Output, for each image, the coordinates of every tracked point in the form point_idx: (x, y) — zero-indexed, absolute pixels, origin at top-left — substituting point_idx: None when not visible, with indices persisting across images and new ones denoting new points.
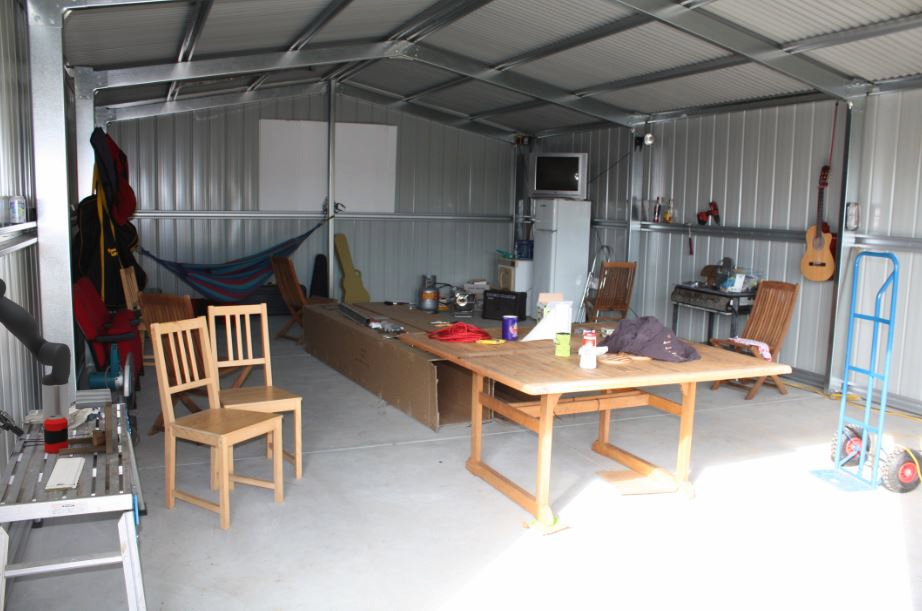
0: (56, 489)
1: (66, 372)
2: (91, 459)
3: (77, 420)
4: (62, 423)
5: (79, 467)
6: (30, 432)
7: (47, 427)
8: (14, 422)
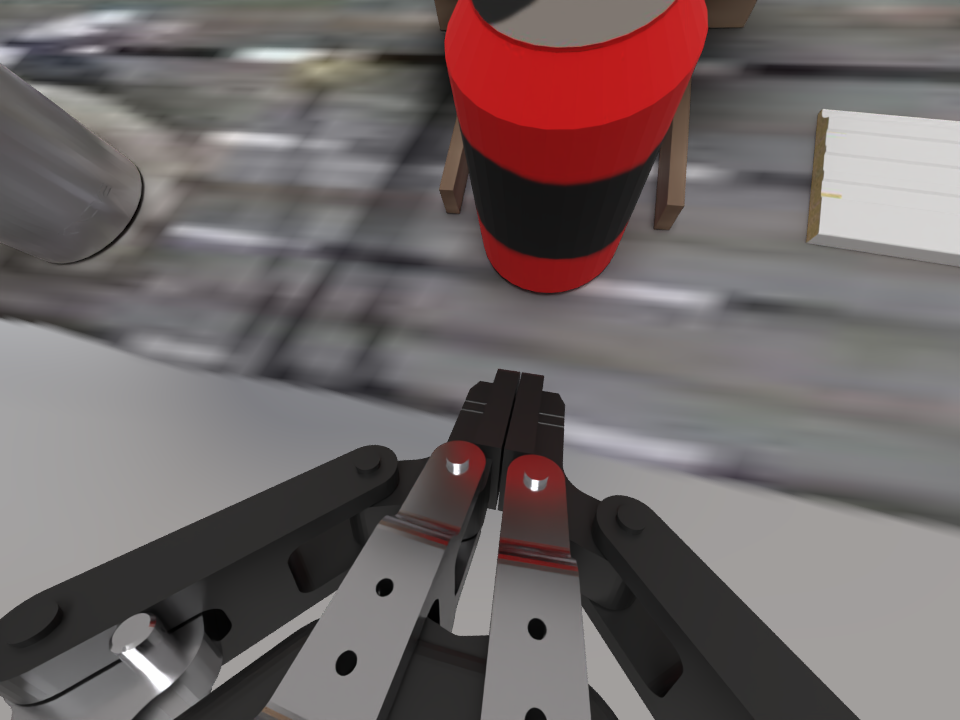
0: None
1: None
2: (830, 89)
3: None
4: None
5: None
6: (107, 330)
7: (648, 136)
8: (392, 456)
